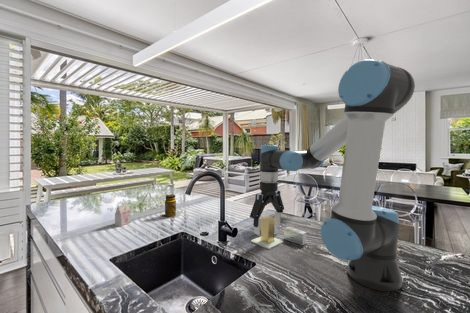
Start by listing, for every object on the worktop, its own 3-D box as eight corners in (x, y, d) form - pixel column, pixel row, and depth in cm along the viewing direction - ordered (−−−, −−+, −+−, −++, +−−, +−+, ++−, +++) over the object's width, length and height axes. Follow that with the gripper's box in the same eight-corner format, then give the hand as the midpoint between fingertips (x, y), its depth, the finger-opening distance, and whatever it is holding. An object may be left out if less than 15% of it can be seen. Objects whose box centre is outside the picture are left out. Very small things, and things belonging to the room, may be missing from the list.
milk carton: (115, 225, 119) (114, 206, 119) (125, 221, 126) (125, 203, 125) (120, 226, 118) (120, 207, 118) (130, 222, 125) (130, 203, 124)
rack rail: (306, 243, 102) (306, 232, 101) (302, 245, 100) (302, 234, 99) (263, 228, 119) (263, 218, 119) (259, 229, 117) (259, 219, 117)
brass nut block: (273, 240, 103) (274, 218, 102) (268, 243, 100) (268, 220, 99) (266, 238, 106) (267, 216, 105) (260, 240, 103) (261, 217, 102)
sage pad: (283, 242, 102) (283, 241, 102) (269, 249, 96) (269, 248, 96) (265, 235, 110) (265, 234, 110) (250, 241, 103) (250, 240, 103)
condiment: (178, 216, 136) (178, 195, 135) (163, 219, 131) (163, 197, 130) (173, 213, 142) (173, 193, 141) (159, 215, 137) (159, 195, 136)
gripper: (279, 177, 112) (278, 221, 114) (241, 183, 95) (240, 234, 97) (292, 179, 107) (291, 225, 108) (255, 186, 90) (254, 240, 91)
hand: (267, 230), depth 102 cm, fingers open, 13 cm apart
